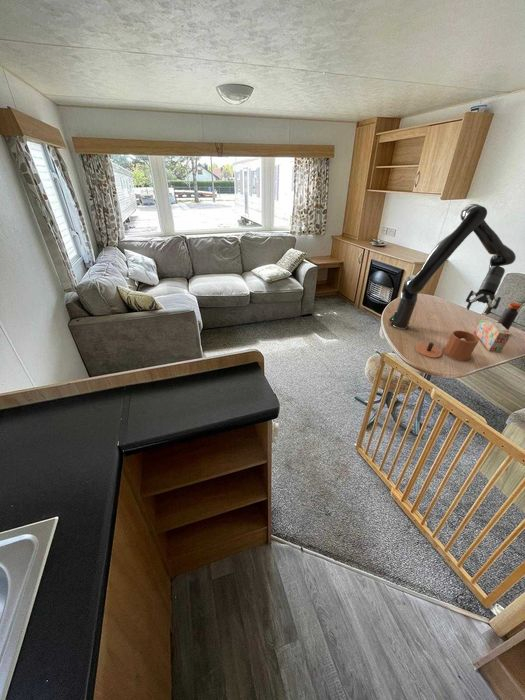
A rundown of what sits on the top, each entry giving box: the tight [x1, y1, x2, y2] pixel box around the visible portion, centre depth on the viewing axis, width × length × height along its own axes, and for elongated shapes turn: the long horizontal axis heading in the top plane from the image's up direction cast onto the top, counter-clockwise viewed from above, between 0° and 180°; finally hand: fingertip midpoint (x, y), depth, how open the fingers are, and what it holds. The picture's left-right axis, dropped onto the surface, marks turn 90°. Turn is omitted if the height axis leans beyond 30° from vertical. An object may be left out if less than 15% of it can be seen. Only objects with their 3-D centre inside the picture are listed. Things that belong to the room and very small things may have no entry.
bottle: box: [497, 302, 522, 331], centre depth 178 cm, size 7×7×20 cm
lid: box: [415, 341, 443, 359], centre depth 161 cm, size 14×14×6 cm
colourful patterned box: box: [474, 319, 512, 353], centre depth 170 cm, size 21×6×12 cm, turn 168°
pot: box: [443, 329, 480, 361], centre depth 158 cm, size 12×12×12 cm
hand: (477, 311), depth 153 cm, fingers open, 8 cm apart
